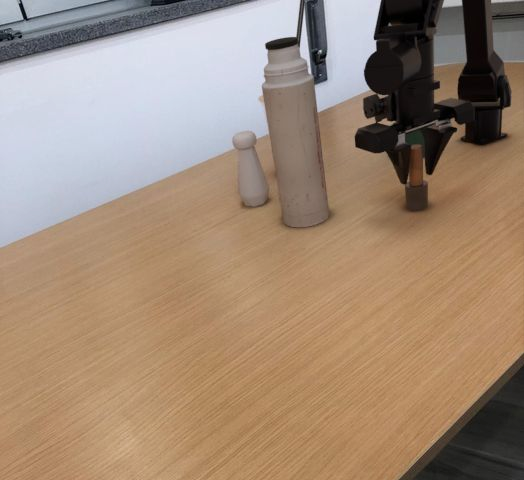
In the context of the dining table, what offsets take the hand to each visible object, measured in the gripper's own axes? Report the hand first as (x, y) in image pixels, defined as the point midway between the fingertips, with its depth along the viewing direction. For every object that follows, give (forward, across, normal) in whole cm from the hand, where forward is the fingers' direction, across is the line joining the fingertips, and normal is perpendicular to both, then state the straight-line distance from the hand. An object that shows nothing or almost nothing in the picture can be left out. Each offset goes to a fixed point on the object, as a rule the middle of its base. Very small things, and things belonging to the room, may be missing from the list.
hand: (416, 179), depth 97 cm
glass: (+5, +4, -34) cm, 35 cm away
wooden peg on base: (+5, 0, 0) cm, 5 cm away
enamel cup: (+5, -16, -22) cm, 28 cm away
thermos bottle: (+5, +15, -11) cm, 19 cm away
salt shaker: (+5, +18, -25) cm, 31 cm away
